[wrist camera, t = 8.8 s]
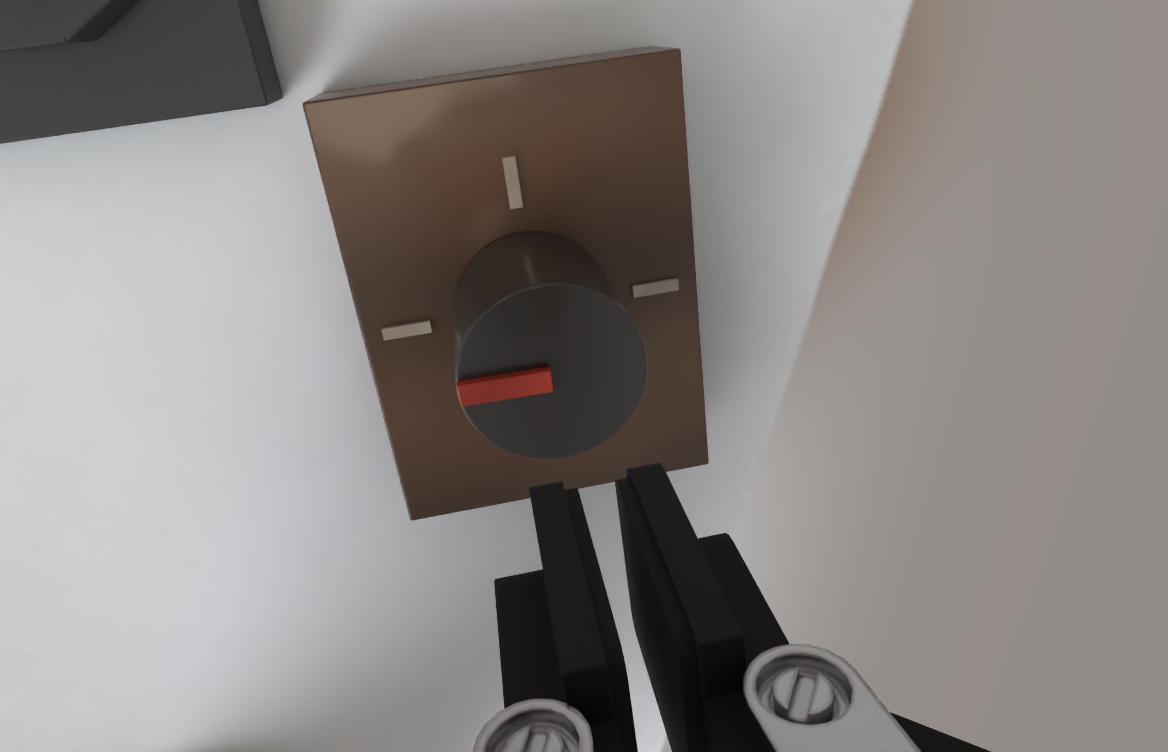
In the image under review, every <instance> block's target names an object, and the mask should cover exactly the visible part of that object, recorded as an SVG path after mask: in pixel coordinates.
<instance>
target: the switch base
mask: <svg viewBox="0 0 1168 752" xmlns="http://www.w3.org/2000/svg"><path fill="white" fill-rule="evenodd" d="M282 98H283V95H282V92H281V88H280V84H279V80H278V77H277V73H276V69H275V66H274V62H273V58H272V54H271V51H270V47H269V43H268V39H267V36H266V32H265V28H264V25H263V21H262V17H261V13H260V10H259V6H258V2H257V0H0V144H1V143H8V142H15V141H22V140H29V139H36V138H43V137H50V136H57V135H64V134H71V133H78V132H85V131H92V130H99V129H106V128H113V127H120V126H127V125H134V124H141V123H148V122H155V121H162V120H169V119H176V118H183V117H189V116H196V115H203V114H210V113H217V112H224V111H231V110H238V109H245V108H252V107H259V106H266V105H269V104H271V103H273V102H275V101H277V100H280V99H282Z"/></svg>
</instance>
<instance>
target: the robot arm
mask: <svg viewBox="0 0 1168 752" xmlns="http://www.w3.org/2000/svg"><path fill="white" fill-rule="evenodd" d="M626 477H627V478H624V479H619V480H616V481H615V486H616V494H617V502H618V510H619V518H620V526H621V534H622V542H623V550H624V557H625V565H626V573H627V581H628V589H629V597H630V605H631V612H632V618H633V623H634V628H635V632H636V635H637V639H638V642H639V645H640V649H641V652H642V655H643V658H644V662H645V665H646V668H647V671H648V675H649V678H650V681H651V684H652V688H653V691H654V694H655V698H656V701H657V704H658V707H659V711H660V714H661V717H662V720H663V724H664V727H665V730H666V733H667V737H668V740H669V743H670V746H671V750H672V752H990V751H988V750H985V749H982V748H980V747H978V746H975V745H972V744H970V743H967V742H965V741H962V740H960V739H957V738H955V737H952V736H950V735H947V734H944V733H942V732H939V731H937V730H934V729H932V728H929V727H926V726H924V725H922V724H919V723H916V722H914V721H911V720H909V719H906V718H904V717H901V716H899V715H896V714H893V713H891V712H889V711H888V709H887V708H886V707H885V706H884V704H883V703H882V702H881V701H880V700H879V698H878V697H877V696H876V695H875V693H874V692H873V691H872V690H871V688H870V687H869V686H868V685H867V683H866V682H865V681H864V679H863V678H862V677H861V676H860V674H859V673H858V672H857V671H856V670H855V669H854V668H853V667H852V666H851V665H850V664H849V663H848V662H847V661H846V660H845V659H844V658H842V657H840V656H838V655H836V654H835V653H833V652H831V651H829V650H827V649H823V648H820V647H816V646H813V645H805V644H804V645H803V644H789V642H788V640H787V639H786V637H785V635H784V633H783V632H782V630H781V628H780V626H779V624H778V622H777V620H776V619H775V617H774V615H773V613H772V611H771V609H770V608H769V606H768V604H767V602H766V600H765V599H764V597H763V595H762V594H761V591H760V589H759V588H758V586H757V584H756V582H755V580H754V578H753V577H752V575H751V573H750V571H749V569H748V568H747V566H746V564H745V562H744V560H743V558H742V557H741V555H740V553H739V551H738V549H737V548H736V546H735V544H734V542H733V540H732V539H731V537H730V536H729V535H728V534H726V533H723V534H718V535H713V536H708V537H703V538H697V536H696V534H695V532H694V530H693V528H692V526H691V524H690V522H689V519H688V517H687V515H686V513H685V511H684V509H683V507H682V505H681V503H680V501H679V499H678V497H677V495H676V493H675V490H674V488H673V486H672V484H671V482H670V480H669V478H668V476H667V474H666V472H665V470H664V468H663V466H662V464H661V463H655V464H649V465H644V466H639V467H634V468H628V469H627V470H626ZM529 491H530V497H531V503H532V508H533V514H534V520H535V526H536V532H537V537H538V543H539V549H540V555H541V561H542V566H543V570H538V571H533V572H528V573H523V574H518V575H513V576H508V577H503V578H498V579H495V581H494V584H495V598H496V610H497V623H498V635H499V647H500V660H501V672H502V684H503V697H504V709H503V710H501V711H499V712H498V713H497V714H496V715H495V716H494V717H493V718H491V719H490V720H489V721H488V722H487V723H486V724H485V725H484V727H483V729H482V730H481V732H480V733H479V735H478V736H477V738H476V741H475V745H474V748H473V752H638V751H637V743H636V736H635V728H634V721H633V714H632V706H631V699H630V692H629V684H628V677H627V671H626V666H625V661H624V656H623V652H622V647H621V643H620V640H619V636H618V632H617V629H616V625H615V622H614V618H613V614H612V611H611V607H610V603H609V600H608V596H607V593H606V589H605V585H604V582H603V578H602V575H601V571H600V567H599V564H598V560H597V556H596V553H595V549H594V546H593V542H592V538H591V535H590V531H589V528H588V524H587V520H586V517H585V513H584V510H583V506H582V502H581V499H580V495H579V491H578V488H572V489H567V490H565V489H564V485H563V482H562V481H560V482H555V483H549V484H544V485H539V486H534V487H529Z"/></svg>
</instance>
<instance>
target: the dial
mask: <svg viewBox="0 0 1168 752" xmlns="http://www.w3.org/2000/svg"><path fill="white" fill-rule="evenodd" d="M454 355H455V384H456V391H457V395H458V399H459V402H460V406H461V407H462V409H463V411H464V413H465V415H466V416H467V418H468V420H469V421H470V423H471V424H472V425H473V426H474V428H475V429H476V430H477V431H478V432H479V433H480V434H481V435H482V436H483V437H484V438H486V439H487V440H488V441H490V442H491V443H493V444H494V445H496V446H497V447H499V448H501V449H503V450H505V451H507V452H510V453H513V454H515V455H519V456H523V457H527V458H534V459H559V458H566V457H570V456H574V455H578V454H580V453H583V452H586V451H588V450H590V449H592V448H594V447H596V446H598V445H600V444H601V443H603V442H604V441H606V440H608V439H609V438H610V437H611V436H612V435H614V434H615V433H616V432H617V431H618V430H619V429H620V428H621V427H622V426H623V425H624V424H625V423H626V421H627V420H628V419H629V417H630V416H631V415H632V413H633V411H634V409H635V408H636V406H637V404H638V402H639V399H640V397H641V395H642V392H643V388H644V384H645V378H646V354H645V348H644V345H643V341H642V338H641V336H640V334H639V331H638V329H637V327H636V325H635V324H634V322H633V321H632V319H631V317H630V316H629V314H628V312H627V311H626V309H625V308H624V306H623V304H622V303H621V301H620V300H619V298H618V296H617V295H616V293H615V291H614V290H613V288H612V287H611V285H610V283H609V282H608V280H607V278H606V277H605V275H604V274H603V272H602V270H601V269H600V267H599V266H598V264H597V263H596V261H595V260H594V259H593V258H592V257H591V256H590V254H589V253H587V252H586V251H585V250H584V249H583V248H582V247H580V246H579V245H577V244H576V243H574V242H572V241H570V240H568V239H566V238H564V237H561V236H558V235H555V234H550V233H545V232H523V233H518V234H513V235H510V236H507V237H504V238H501V239H499V240H497V241H495V242H493V243H492V244H490V245H489V246H487V247H486V248H484V249H483V250H482V251H481V252H479V253H478V254H477V255H476V256H475V257H474V258H473V260H472V261H471V262H470V263H469V264H468V266H467V267H466V269H465V270H464V272H463V274H462V276H461V278H460V280H459V282H458V286H457V289H456V292H455V299H454Z"/></svg>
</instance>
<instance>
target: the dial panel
mask: <svg viewBox="0 0 1168 752" xmlns="http://www.w3.org/2000/svg"><path fill="white" fill-rule="evenodd" d="M303 108H304V112H305V116H306V120H307V124H308V128H309V132H310V135H311V139H312V143H313V147H314V151H315V155H316V158H317V162H318V166H319V170H320V174H321V178H322V182H323V185H324V189H325V193H326V197H327V201H328V205H329V209H330V212H331V216H332V220H333V224H334V228H335V232H336V236H337V239H338V243H339V247H340V251H341V255H342V259H343V262H344V266H345V270H346V274H347V278H348V282H349V286H350V289H351V293H352V297H353V301H354V305H355V309H356V313H357V316H358V320H359V324H360V328H361V332H362V336H363V340H364V343H365V347H366V351H367V355H368V359H369V363H370V366H371V370H372V374H373V378H374V382H375V386H376V390H377V393H378V397H379V401H380V405H381V409H382V413H383V417H384V420H385V424H386V428H387V432H388V436H389V440H390V444H391V447H392V451H393V455H394V459H395V463H396V467H397V470H398V474H399V478H400V482H401V486H402V490H403V494H404V497H405V501H406V505H407V509H408V513H409V517H410V519H411V520H417V519H423V518H428V517H433V516H438V515H444V514H449V513H454V512H459V511H464V510H470V509H475V508H480V507H485V506H491V505H496V504H501V503H506V502H511V501H517V500H522V499H527V498H531V497H530V491H529V487H534V486H539V485H544V484H549V483H555V482H560V481H562V482H563V485H564V489H565V490H567V489H572V488H578V489H579V488H585V487H590V486H595V485H600V484H605V483H611V482H615V481H616V480H619V479H624V478H627V477H626V470H627V469H628V468H634V467H639V466H644V465H649V464H655V463H661V464H662V466H663V468H664V470H665V472H668V471H673V470H679V469H684V468H689V467H694V466H699V465H705V464H708V462H709V461H708V446H707V432H706V417H705V402H704V388H703V373H702V358H701V344H700V329H699V315H698V300H697V285H696V271H695V256H694V241H693V227H692V212H691V197H690V183H689V168H688V153H687V139H686V124H685V109H684V95H683V80H682V65H681V51H680V49H678V48H670V47H661V46H647V47H640V48H633V49H626V50H619V51H612V52H605V53H598V54H591V55H584V56H577V57H570V58H563V59H556V60H549V61H542V62H535V63H528V64H521V65H514V66H507V67H500V68H493V69H486V70H479V71H472V72H465V73H458V74H451V75H444V76H437V77H430V78H423V79H416V80H409V81H402V82H395V83H388V84H381V85H374V86H367V87H360V88H353V89H346V90H339V91H332V92H325V93H320V94H318V95H316V96H315V97H313V98H311V99H309V100H307V101H306V102H304V103H303ZM523 232H545V233H550V234H555V235H558V236H561V237H564V238H566V239H568V240H570V241H572V242H574V243H576V244H577V245H579V246H580V247H582V248H583V249H584V250H585V251H586V252H587V253H589V254H590V256H591V257H592V258H593V259H594V260H595V261H596V263H597V264H598V266H599V267H600V269H601V270H602V272H603V274H604V275H605V277H606V278H607V280H608V282H609V283H610V285H611V287H612V288H613V290H614V291H615V293H616V295H617V296H618V298H619V300H620V301H621V303H622V304H623V306H624V308H625V309H626V311H627V312H628V314H629V316H630V317H631V319H632V321H633V322H634V324H635V325H636V327H637V329H638V331H639V334H640V336H641V338H642V341H643V345H644V348H645V354H646V378H645V384H644V388H643V392H642V395H641V397H640V399H639V402H638V404H637V406H636V408H635V409H634V411H633V413H632V415H631V416H630V417H629V419H628V420H627V421H626V423H625V424H624V425H623V426H622V427H621V428H620V429H619V430H618V431H617V432H616V433H615V434H614V435H612V436H611V437H610V438H609V439H608V440H606V441H604V442H603V443H601V444H600V445H598V446H596V447H594V448H592V449H590V450H588V451H586V452H583V453H580V454H578V455H574V456H570V457H566V458H559V459H534V458H527V457H523V456H519V455H515V454H513V453H510V452H507V451H505V450H503V449H501V448H499V447H497V446H496V445H494V444H493V443H491V442H490V441H488V440H487V439H486V438H484V437H483V436H482V435H481V434H480V433H479V432H478V431H477V430H476V429H475V428H474V426H473V425H472V424H471V423H470V421H469V420H468V418H467V416H466V415H465V413H464V411H463V409H462V407H461V406H460V402H459V399H458V395H457V391H456V384H455V355H454V299H455V292H456V289H457V286H458V282H459V280H460V278H461V276H462V274H463V272H464V270H465V269H466V267H467V266H468V264H469V263H470V262H471V261H472V260H473V258H474V257H475V256H476V255H477V254H478V253H479V252H481V251H482V250H483V249H484V248H486V247H487V246H489V245H490V244H492V243H493V242H495V241H497V240H499V239H501V238H504V237H507V236H510V235H513V234H518V233H523Z"/></svg>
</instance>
